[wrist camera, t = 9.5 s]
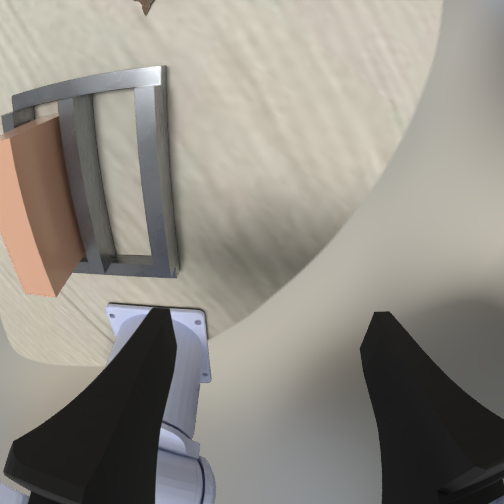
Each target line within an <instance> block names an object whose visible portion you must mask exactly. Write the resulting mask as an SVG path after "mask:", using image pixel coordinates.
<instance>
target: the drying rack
mask: <svg viewBox="0 0 504 504" xmlns="http://www.w3.org/2000/svg"><path fill="white" fill-rule="evenodd" d="M141 86H142V87H141ZM132 87H138V88H134V96H135V115H136V130H137V142H138V154H139V164H140V174H141V183H142V191H143V199H144V207H145V214H146V221H147V228H148V235H149V241H150V247H151V253H152V256H135V255H116V252H115V248H114V243H113V239H112V234H111V229H110V224H109V219H108V214H107V209H106V204H105V198H104V192H103V186H102V180H101V174H100V167H99V160H98V153H97V145H96V136H95V127H94V116H93V104H92V93H96V92H102V91H109V90H116V89H124V88H132ZM64 98H65V99H64ZM59 99H62V100H59ZM54 100H59V101H57V102H58V112H59V122H60V130H61V137H62V144H63V151H64V157H65V163H66V169H67V175H68V180H69V185H70V190H71V195H72V200H73V204H74V209H75V213H76V217H77V221H78V226H79V230H80V233H81V237H82V241H83V245H84V248H85V252H86V254H85V255H84V256H83V257H82V259H81V260H80V262H79V263H78V265H77V266H76V268H75V269H74V271H73V272H72V273H87V274H103V275H120V276H138V277H158V278H177V276H178V273H179V270H180V268H179V260H178V251H177V242H176V233H175V223H174V213H173V202H172V190H171V177H170V162H169V146H168V126H167V97H166V66H154V67H145V68H137V69H129V70H122V71H115V72H109V73H103V74H97V75H92V76H87V77H82V78H77V79H73V80H68V81H64V82H60V83H55V84H51V85H48V86H44V87H40V88H37V89H33V90H30V91H26V92H23V93H20V94H16V95H13V96H12V104H13V111H12V112H10V113H7V114H4V115H2V124H3V131H4V133H6V132H8V131H10V130H12V129H14V128H16V127H19V126H21V125H23V124H25V123H28V122H30V121H32V120H35V116H34V107H33V106H34V105H38V104H42V103H46V102H50V101H54Z"/></svg>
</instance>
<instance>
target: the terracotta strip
mask: <svg viewBox="0 0 504 504" xmlns="http://www.w3.org/2000/svg"><path fill="white" fill-rule="evenodd" d="M0 232H1V235H2V238H3V241H4V243H5V246H6V249H7V251H8V254H9V257H10V259H11V262H12V264H13V267H14V269H15V271H16V274H17V276H18V279H19V281H20V283H21V285H22V288H23V290H24V292H25V294H32V295H40V296H48V297H57V295H58V294H59V292H60V291H61V289H62V287H63V286H64V284H65V283H66V281H67V280H68V278H69V277H70V275H71V274H72V272H73V271H74V269H75V268H76V266H77V265H78V263H79V262H80V260H81V259H82V257H83V256H84V255H85V253H86V252H85V248H84V245H83V241H82V237H81V233H80V230H79V226H78V221H77V217H76V213H75V209H74V204H73V200H72V195H71V190H70V185H69V180H68V175H67V169H66V163H65V157H64V151H63V144H62V137H61V130H60V122H59V113H58V114H53V115H48V116H43V117H40V118H37V119H35V120H32V121H30V122H28V123H25V124H23V125H21V126H19V127H16V128H14V129H12V130H10V131H8V132H6V133H4V134H2V135H0Z"/></svg>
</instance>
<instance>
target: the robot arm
mask: <svg viewBox="0 0 504 504" xmlns="http://www.w3.org/2000/svg"><path fill="white" fill-rule="evenodd" d="M105 310H106V313H107V316H108V319H109V322H110V324H111V327H112V330H113V332H114V335H115V337H116V340H115V342H114V345H113V348H112V350H111V353H110V356H109V358H108V361H107V364H106V367H105V369H104V370H103V371H102V372H101V373H100V374H99V375H98V377H97V378H96V379H95V380H94V381H93V382H92V383H91V384H90V385H89V386H88V387H87V388H86V389H85V390H84V391H83V392H81V393H80V394H79V395H78V396H77V397H76V398H75V399H74V400H72V401H71V402H70V403H69V404H68V405H67V406H65V407H64V408H63V409H62V410H60V411H59V412H58V413H56V414H55V415H54V416H52V417H51V418H50V419H48V420H47V421H45V422H44V423H43V424H41V425H40V426H38V427H37V428H35V429H33V430H32V431H30V432H29V433H27V434H25V435H24V436H22V437H20V438H19V439H17V440H15V441H13V444H12V446H11V449H10V451H9V455H8V458H7V461H6V464H5V468H4V471H3V472H4V474H5V476H7V477H8V478H9V479H11V480H13V481H14V482H16V483H18V484H19V485H21V486H23V487H25V488H27V489H28V490H30V491H31V495H30V497H29V496H27V495H25V494H23V493H21V492H19V491H17V490H15V489H13V488H11V487H9V486H7V485H5V484H4V483H2V482H0V504H214V502H215V497H216V482H215V477H214V474H213V472H212V469H211V466H210V464H209V463H208V461H207V460H206V459H205V458H203V457H201V456H199V450H200V444H199V443H197V442H195V441H192V438H193V435H194V430H195V422H196V413H197V405H198V397H199V388H200V383H209V382H210V381H211V370H210V362H209V353H208V343H207V333H206V323H205V314H204V313H203V312H202V311H200V310H191V309H173V308H157V307H143V306H130V305H118V304H108V305H107V306H106V308H105ZM113 314H114V315H113ZM197 320H199V321H197ZM360 353H361V360H362V366H363V372H364V377H365V380H366V384H367V388H368V392H369V395H370V399H371V403H372V406H373V410H374V414H375V418H376V422H377V427H378V432H379V441H380V449H381V462H382V504H504V483H503V480H502V479H503V478H504V419H502V418H500V417H499V416H497V415H496V414H494V413H493V412H491V411H490V410H488V409H487V408H485V407H484V406H482V405H481V404H480V403H478V402H477V401H476V400H475V399H473V398H472V397H471V396H469V395H468V394H467V393H466V392H465V391H463V390H462V389H461V388H460V387H459V386H458V385H457V384H456V383H454V382H453V381H452V380H451V379H450V378H449V377H448V376H447V375H446V374H445V373H444V372H443V371H442V370H441V369H440V368H439V367H438V366H437V365H436V364H435V363H434V362H433V361H432V360H431V358H430V357H429V356H428V355H427V354H426V353H425V352H424V351H423V350H422V348H421V347H420V346H419V345H418V344H417V343H416V342H415V340H414V339H413V338H412V337H411V336H410V335H409V333H408V332H407V331H406V330H405V329H404V328H403V326H402V325H401V324H400V323H399V322H398V321H397V320H396V318H395V317H394V316H393V315H392V314H391V313H390V312H374V315H373V317H372V320H371V322H370V325H369V327H368V330H367V332H366V335H365V337H364V340H363V342H362V344H361V347H360Z"/></svg>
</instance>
